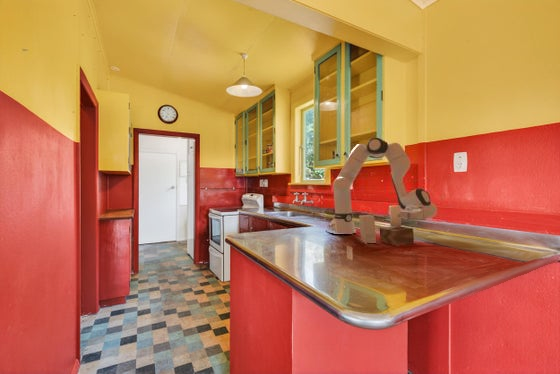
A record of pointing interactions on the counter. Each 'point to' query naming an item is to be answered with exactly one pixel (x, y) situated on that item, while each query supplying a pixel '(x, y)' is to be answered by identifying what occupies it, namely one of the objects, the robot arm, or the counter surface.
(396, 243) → the walnut base
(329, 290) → the counter surface
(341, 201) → the robot arm
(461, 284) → the counter surface
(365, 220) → the skincare box
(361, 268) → the counter surface
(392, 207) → the cream canister
